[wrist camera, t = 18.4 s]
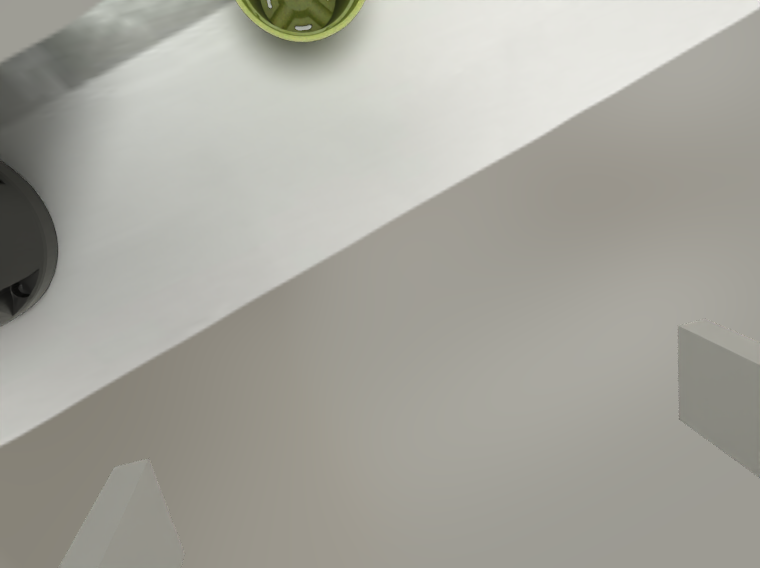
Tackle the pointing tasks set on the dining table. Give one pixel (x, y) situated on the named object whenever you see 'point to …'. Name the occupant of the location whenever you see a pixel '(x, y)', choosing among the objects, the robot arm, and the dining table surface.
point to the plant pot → (301, 17)
